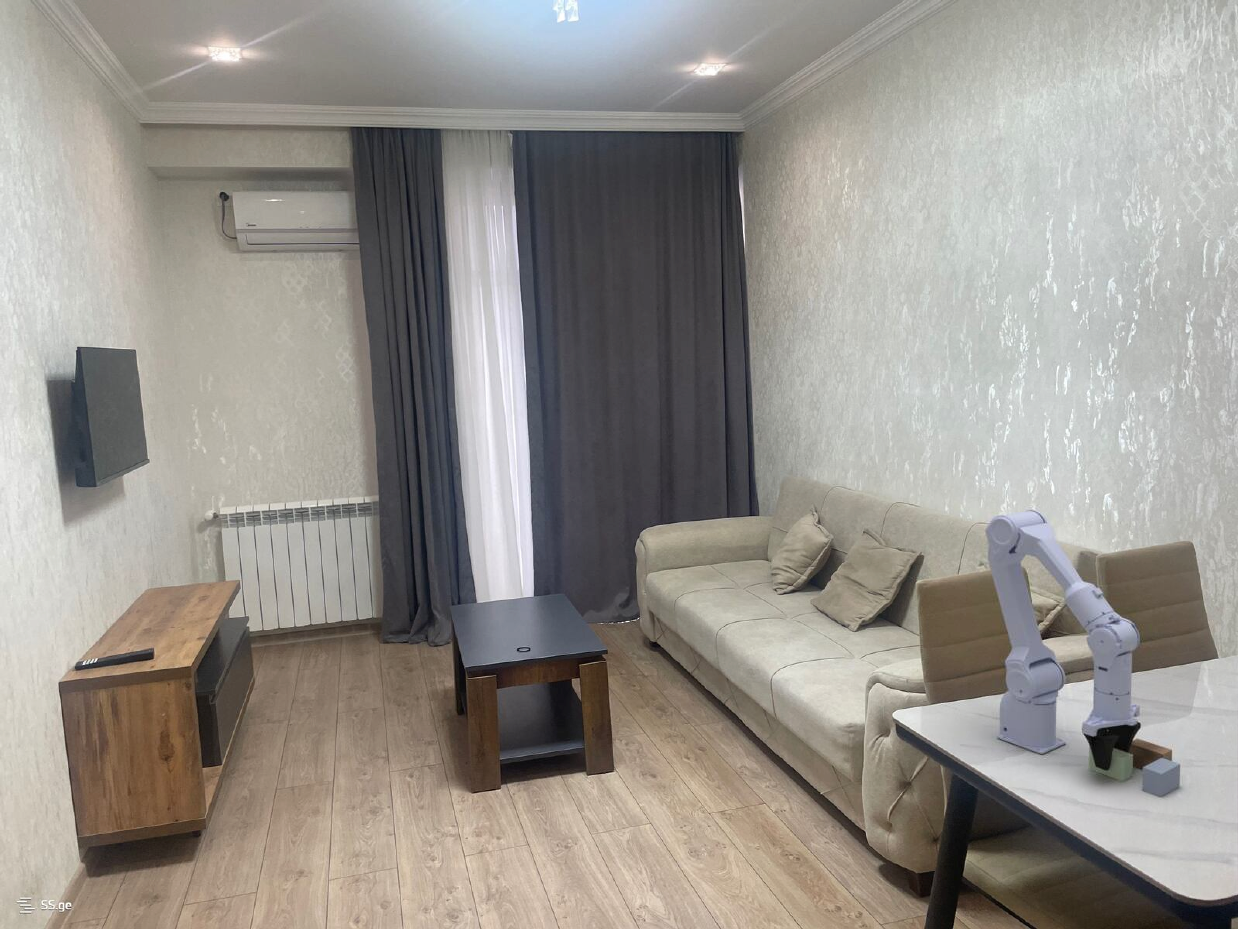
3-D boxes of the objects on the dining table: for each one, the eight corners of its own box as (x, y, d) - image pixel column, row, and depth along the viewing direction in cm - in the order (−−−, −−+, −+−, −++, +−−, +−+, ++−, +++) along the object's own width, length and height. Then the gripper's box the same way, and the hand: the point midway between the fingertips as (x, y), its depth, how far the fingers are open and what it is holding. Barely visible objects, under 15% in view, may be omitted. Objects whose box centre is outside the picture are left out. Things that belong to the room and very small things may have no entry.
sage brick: (1088, 768, 159) (1089, 747, 158) (1098, 764, 160) (1098, 742, 160) (1122, 781, 154) (1123, 759, 153) (1132, 776, 155) (1133, 754, 155)
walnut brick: (1127, 764, 160) (1127, 742, 159) (1136, 759, 161) (1137, 738, 161) (1162, 776, 155) (1163, 754, 154) (1171, 771, 156) (1172, 749, 156)
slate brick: (1160, 797, 148) (1161, 774, 147) (1142, 790, 150) (1142, 767, 150) (1179, 786, 151) (1180, 764, 150) (1161, 780, 153) (1161, 757, 153)
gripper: (1112, 706, 148) (1110, 784, 149) (1158, 686, 156) (1156, 761, 157) (1071, 694, 154) (1069, 769, 155) (1117, 675, 162) (1115, 747, 163)
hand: (1110, 764), depth 157 cm, fingers open, 5 cm apart
